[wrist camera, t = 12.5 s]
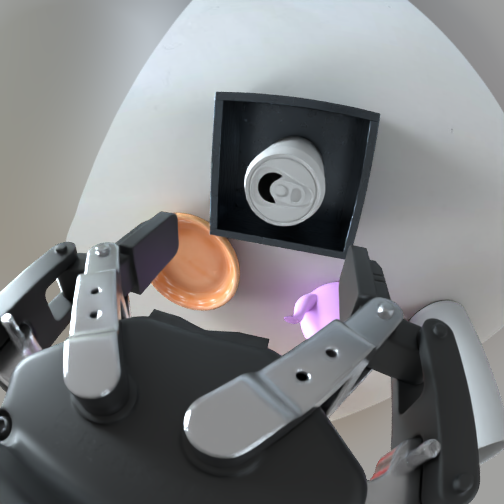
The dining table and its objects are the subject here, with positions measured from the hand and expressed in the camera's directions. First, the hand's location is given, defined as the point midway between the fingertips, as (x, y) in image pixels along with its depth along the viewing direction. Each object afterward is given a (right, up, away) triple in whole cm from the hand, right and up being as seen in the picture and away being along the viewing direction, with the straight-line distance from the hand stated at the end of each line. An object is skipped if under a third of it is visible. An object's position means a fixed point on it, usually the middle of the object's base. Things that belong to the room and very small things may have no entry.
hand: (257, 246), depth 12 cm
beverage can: (+5, +10, +18) cm, 21 cm away
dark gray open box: (+5, +10, +18) cm, 22 cm away
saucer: (-9, -1, +29) cm, 30 cm away
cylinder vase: (+30, -13, +25) cm, 41 cm away
